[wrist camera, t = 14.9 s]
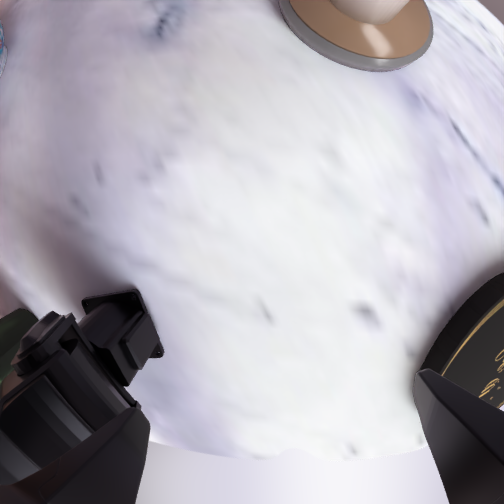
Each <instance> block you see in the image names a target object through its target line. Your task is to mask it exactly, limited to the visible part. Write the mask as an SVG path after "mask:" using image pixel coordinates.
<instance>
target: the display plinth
mask: <svg viewBox="0 0 504 504" xmlns="http://www.w3.org/2000/svg"><path fill="white" fill-rule="evenodd" d="M279 6H280V10H281V13H282V15H283V17H284V20H285V21H286V23H287V24H288V26H289V27H290V29H291V30H292V31H293V32H294V33H295V35H296V36H297V37H299V38H300V39H301V40H302V41H303V42H304V43H305V44H306V45H308V46H309V47H310V48H312V49H313V50H315V51H316V52H318V53H319V54H321V55H323V56H325V57H326V58H328V59H330V60H332V61H335V62H337V63H339V64H342V65H345V66H348V67H351V68H355V69H359V70H364V71H371V72H387V71H393V70H398V69H401V68H403V67H406V66H407V65H409V64H411V63H412V62H414V61H415V60H417V59H418V58H420V57H421V56H422V55H423V54H424V53H425V52H426V51H427V49H428V48H429V46H430V44H431V42H432V38H433V22H432V18H431V15H430V12H429V10H428V7H427V5H426V3H425V2H424V0H410V1H409V2H408V3H407V4H406V5H405V6H404V7H403V8H402V9H401V10H400V12H399V13H398V14H397V15H396V16H395V17H394V18H393V19H392V20H391V21H389V22H388V23H385V24H377V25H375V24H367V23H363V22H359V21H357V20H354V19H352V18H350V17H348V16H346V15H345V14H343V13H342V12H340V11H339V10H338V9H337V8H336V7H335V6H334V5H333V4H332V3H331V2H330V1H329V0H279Z"/></svg>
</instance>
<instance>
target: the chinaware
mask: <svg viewBox="0 0 504 504" xmlns="http://www.w3.org/2000/svg"><path fill="white" fill-rule="evenodd" d="M6 59H7V48H6V46H5V45H4V32H3V26H2V23H1V20H0V77H1V75H2V72H3V70H4V67H5V63H6Z"/></svg>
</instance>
